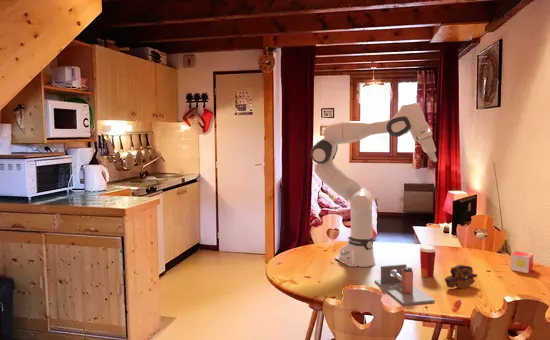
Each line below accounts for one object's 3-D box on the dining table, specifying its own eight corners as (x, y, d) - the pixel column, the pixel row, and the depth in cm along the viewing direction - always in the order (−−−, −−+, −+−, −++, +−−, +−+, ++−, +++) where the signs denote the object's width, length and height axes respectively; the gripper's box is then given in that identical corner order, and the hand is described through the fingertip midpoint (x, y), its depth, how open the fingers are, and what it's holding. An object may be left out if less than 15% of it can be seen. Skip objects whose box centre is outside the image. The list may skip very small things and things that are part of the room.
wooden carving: (451, 292, 194) (451, 270, 193) (443, 288, 198) (444, 267, 197) (479, 286, 200) (479, 264, 199) (470, 283, 204) (471, 261, 203)
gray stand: (374, 282, 208) (374, 263, 207) (402, 279, 210) (402, 261, 209) (403, 305, 180) (403, 283, 179) (434, 302, 183) (435, 281, 182)
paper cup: (435, 273, 218) (436, 245, 216) (435, 279, 210) (436, 250, 209) (418, 272, 220) (419, 244, 219) (418, 277, 213) (418, 248, 212)
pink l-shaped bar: (385, 279, 207) (385, 257, 206) (393, 278, 208) (393, 257, 207) (405, 294, 189) (405, 270, 188) (413, 293, 190) (413, 269, 189)
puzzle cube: (510, 269, 222) (511, 254, 221) (515, 266, 228) (515, 251, 227) (528, 273, 217) (529, 257, 216) (532, 269, 222) (533, 253, 222)
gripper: (413, 136, 223) (425, 161, 223) (418, 137, 203) (430, 165, 203) (425, 131, 221) (437, 156, 221) (431, 131, 201) (444, 159, 201)
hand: (434, 160), depth 212 cm, fingers open, 8 cm apart
